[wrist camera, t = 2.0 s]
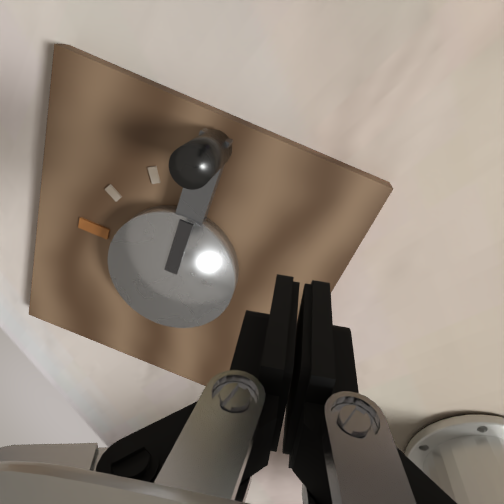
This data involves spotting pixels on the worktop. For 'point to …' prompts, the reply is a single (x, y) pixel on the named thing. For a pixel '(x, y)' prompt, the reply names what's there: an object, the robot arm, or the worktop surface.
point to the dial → (179, 244)
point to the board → (168, 193)
